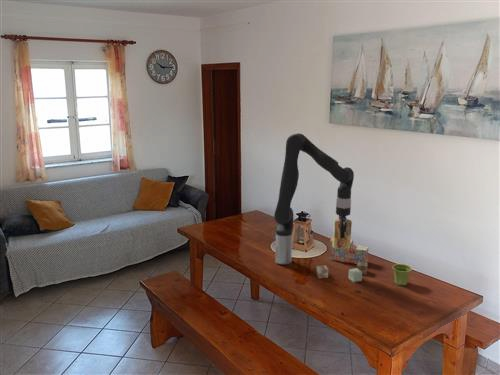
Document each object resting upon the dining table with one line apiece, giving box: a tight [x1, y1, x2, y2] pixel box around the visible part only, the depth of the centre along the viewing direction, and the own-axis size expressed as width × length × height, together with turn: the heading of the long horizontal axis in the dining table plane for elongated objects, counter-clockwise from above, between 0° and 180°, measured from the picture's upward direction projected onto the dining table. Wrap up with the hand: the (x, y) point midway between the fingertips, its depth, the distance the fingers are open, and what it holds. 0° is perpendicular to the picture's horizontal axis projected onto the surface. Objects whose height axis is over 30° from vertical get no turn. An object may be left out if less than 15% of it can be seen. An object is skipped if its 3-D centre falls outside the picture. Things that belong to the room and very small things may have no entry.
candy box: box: [332, 218, 353, 248], centre depth 237 cm, size 9×4×15 cm, turn 92°
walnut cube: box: [356, 262, 368, 276], centre depth 243 cm, size 5×5×5 cm
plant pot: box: [392, 263, 413, 287], centre depth 230 cm, size 9×9×9 cm
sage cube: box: [347, 267, 363, 283], centre depth 235 cm, size 5×5×5 cm
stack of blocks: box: [328, 236, 369, 265], centre depth 258 cm, size 21×6×12 cm, turn 63°
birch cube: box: [316, 265, 329, 279], centre depth 239 cm, size 5×5×5 cm
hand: (341, 236), depth 238 cm, fingers closed on candy box, 4 cm apart
